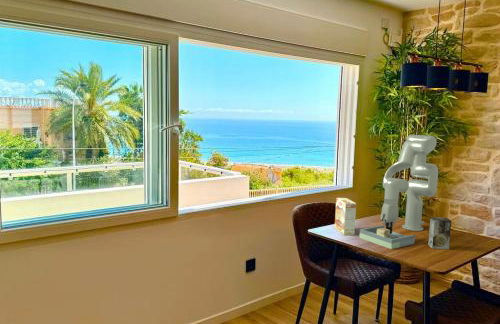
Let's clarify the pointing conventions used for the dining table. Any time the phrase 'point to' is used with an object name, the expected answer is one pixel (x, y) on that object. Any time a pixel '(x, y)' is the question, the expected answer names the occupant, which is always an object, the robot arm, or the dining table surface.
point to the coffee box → (439, 233)
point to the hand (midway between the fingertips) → (388, 233)
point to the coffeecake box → (345, 216)
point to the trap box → (389, 242)
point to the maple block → (383, 232)
